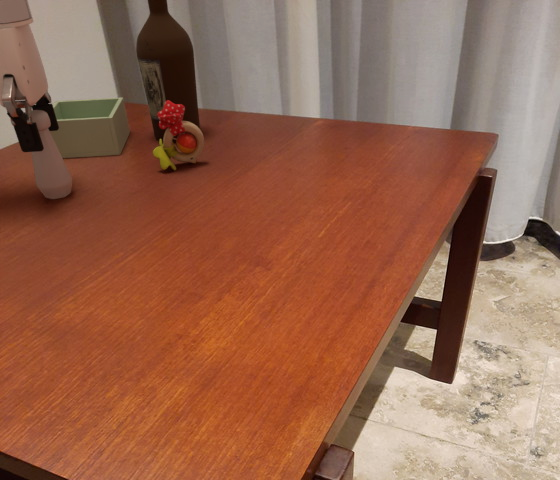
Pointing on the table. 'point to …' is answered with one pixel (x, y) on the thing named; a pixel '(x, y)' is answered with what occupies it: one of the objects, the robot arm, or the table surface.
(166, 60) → the olive oil
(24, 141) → the robot arm
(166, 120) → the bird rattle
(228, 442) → the table surface
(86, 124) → the bin
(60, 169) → the salt shaker
